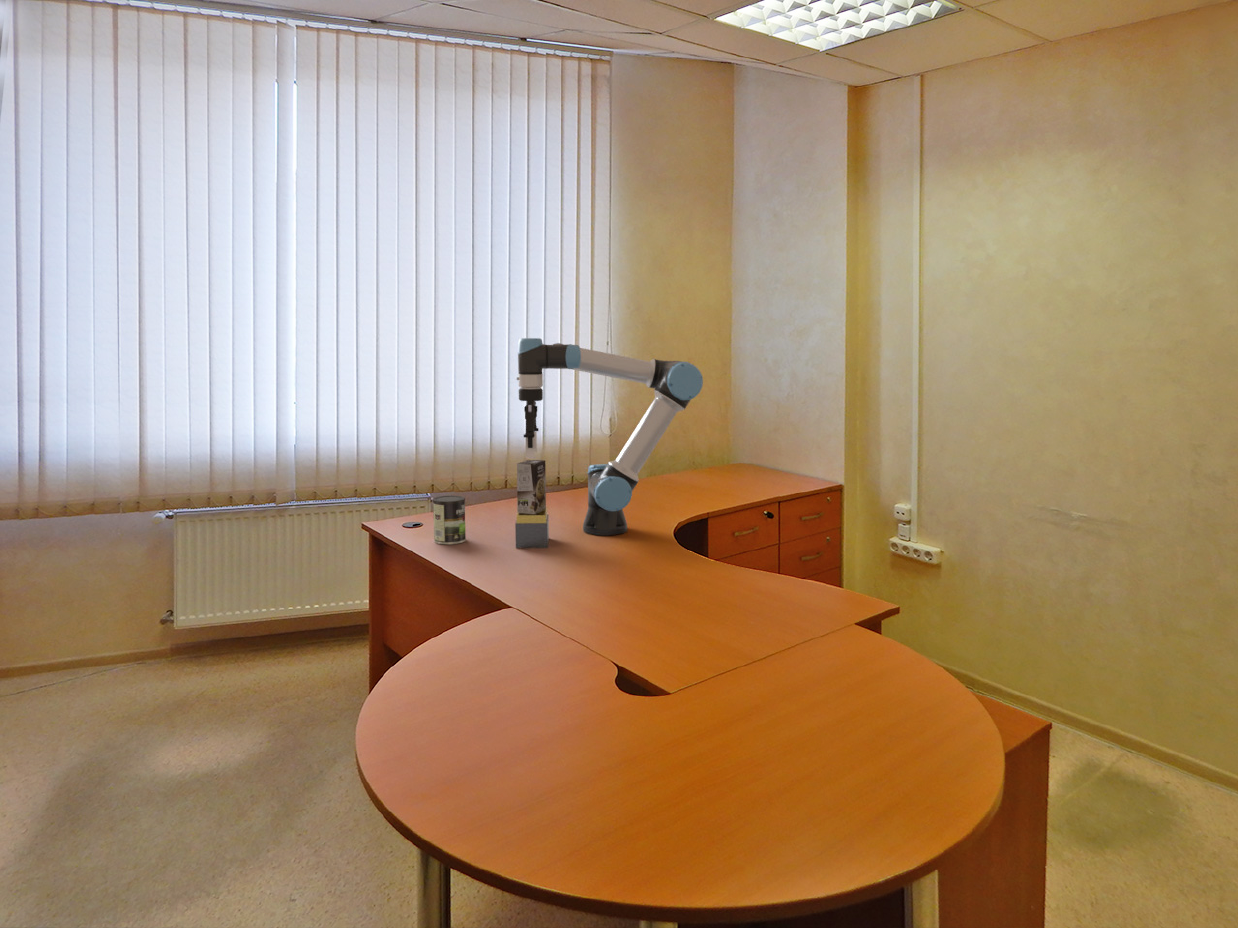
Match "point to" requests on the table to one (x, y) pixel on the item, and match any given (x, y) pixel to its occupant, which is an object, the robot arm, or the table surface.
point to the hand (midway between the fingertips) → (531, 455)
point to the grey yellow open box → (532, 530)
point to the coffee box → (531, 486)
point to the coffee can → (449, 519)
